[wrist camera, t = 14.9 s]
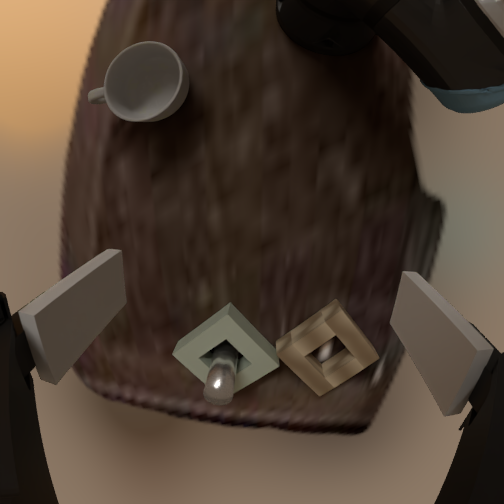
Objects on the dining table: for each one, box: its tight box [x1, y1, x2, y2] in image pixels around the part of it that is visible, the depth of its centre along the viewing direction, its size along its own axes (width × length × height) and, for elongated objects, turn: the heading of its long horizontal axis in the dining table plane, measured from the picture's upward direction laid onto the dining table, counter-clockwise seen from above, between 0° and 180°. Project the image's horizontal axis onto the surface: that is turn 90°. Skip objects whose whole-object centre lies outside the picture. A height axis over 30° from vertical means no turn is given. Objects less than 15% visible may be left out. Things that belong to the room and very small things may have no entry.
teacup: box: [88, 41, 189, 122], centre depth 35 cm, size 14×11×8 cm
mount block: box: [276, 299, 379, 396], centre depth 47 cm, size 12×12×4 cm
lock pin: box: [203, 339, 239, 405], centre depth 44 cm, size 4×4×12 cm
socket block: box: [172, 302, 279, 394], centre depth 48 cm, size 12×12×4 cm
